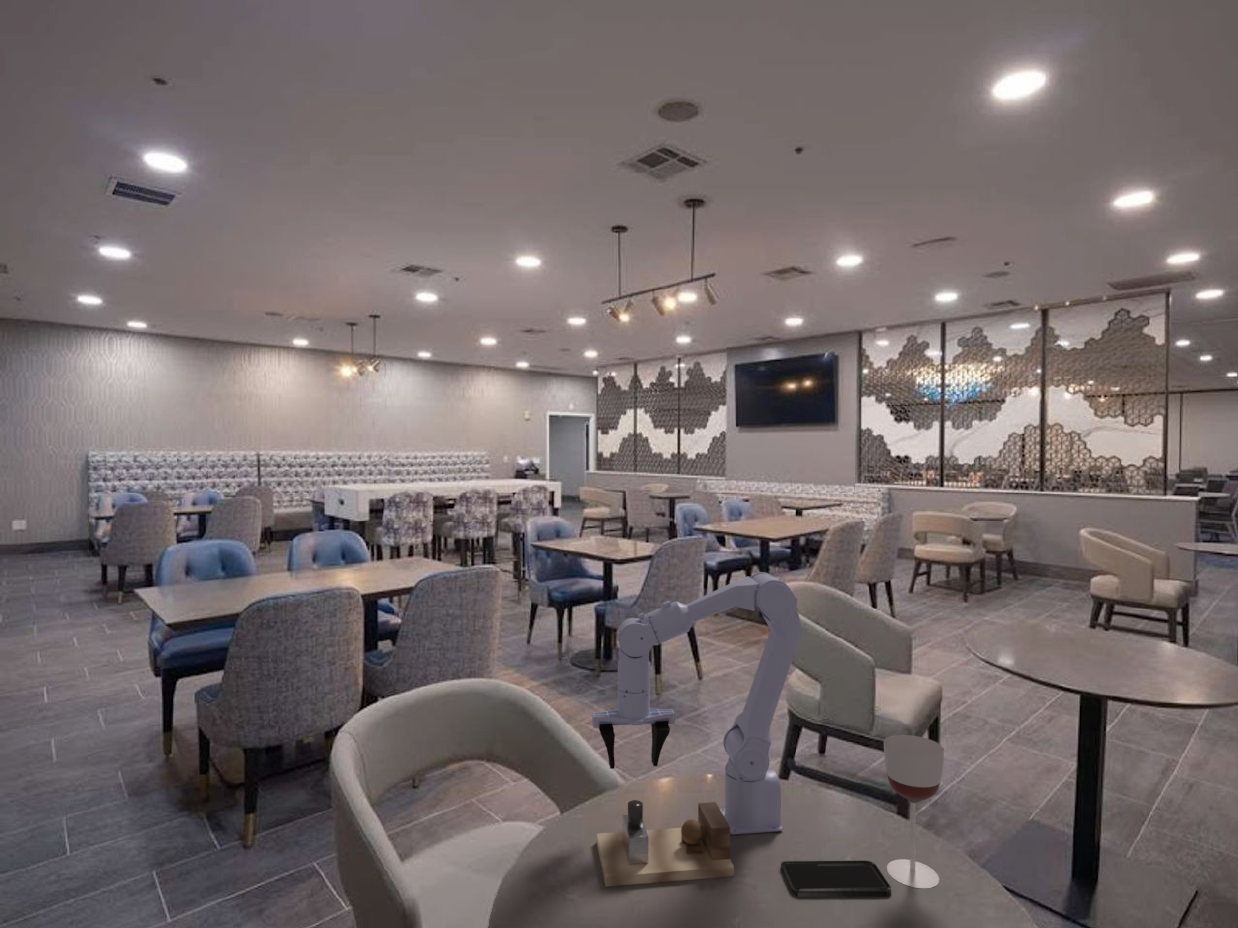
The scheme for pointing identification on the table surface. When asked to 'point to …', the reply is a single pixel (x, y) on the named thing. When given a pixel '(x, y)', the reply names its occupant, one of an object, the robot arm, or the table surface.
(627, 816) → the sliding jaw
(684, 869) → the base
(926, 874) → the wineglass
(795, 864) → the phone
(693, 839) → the walnut
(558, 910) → the table surface
